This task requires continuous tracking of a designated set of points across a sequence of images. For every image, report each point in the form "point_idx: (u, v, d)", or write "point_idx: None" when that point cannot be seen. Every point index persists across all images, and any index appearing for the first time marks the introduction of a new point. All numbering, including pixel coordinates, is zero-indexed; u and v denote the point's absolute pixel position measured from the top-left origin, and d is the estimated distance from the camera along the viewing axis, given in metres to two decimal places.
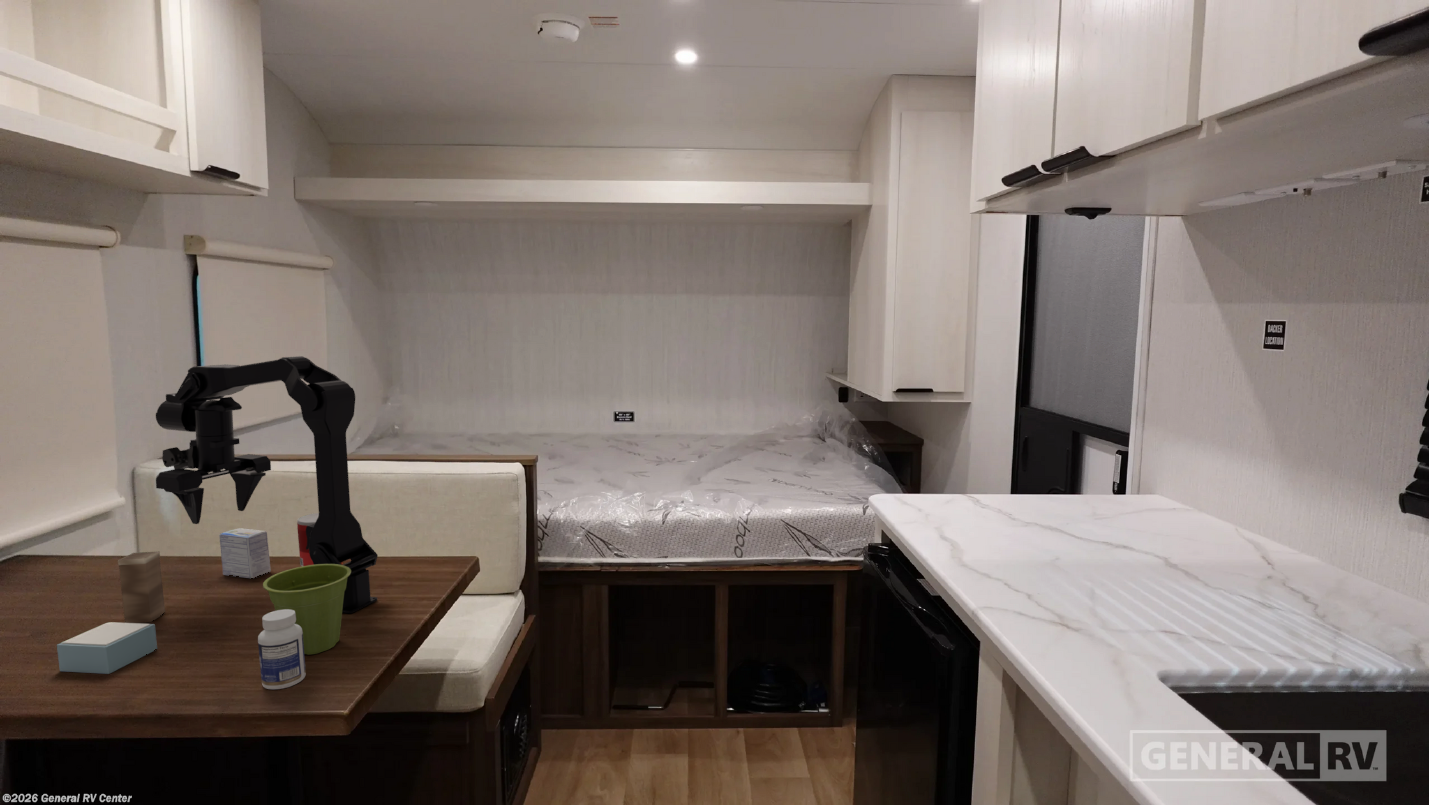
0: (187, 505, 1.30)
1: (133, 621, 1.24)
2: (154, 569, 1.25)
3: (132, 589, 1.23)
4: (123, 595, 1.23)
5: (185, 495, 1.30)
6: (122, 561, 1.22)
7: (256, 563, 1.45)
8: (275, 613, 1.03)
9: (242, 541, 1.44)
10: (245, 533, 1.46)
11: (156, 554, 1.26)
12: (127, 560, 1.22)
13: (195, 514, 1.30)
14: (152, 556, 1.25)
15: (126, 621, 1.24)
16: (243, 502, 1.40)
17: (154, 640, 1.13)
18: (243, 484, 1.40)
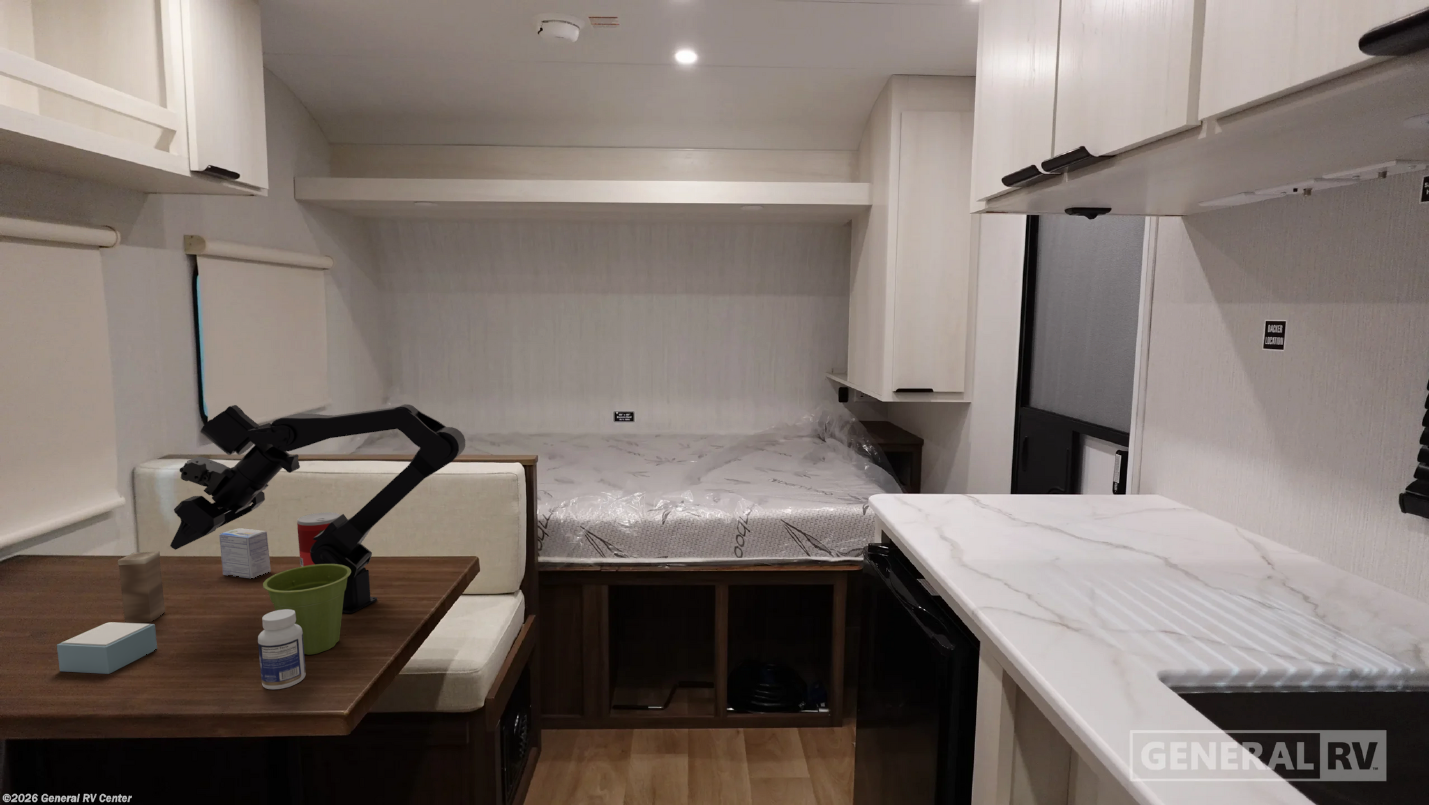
0: (183, 532, 1.20)
1: (133, 621, 1.24)
2: (154, 569, 1.25)
3: (132, 589, 1.23)
4: (123, 595, 1.23)
5: None
6: (122, 561, 1.22)
7: (256, 563, 1.45)
8: (275, 613, 1.03)
9: (242, 541, 1.44)
10: (245, 533, 1.46)
11: (156, 554, 1.26)
12: (127, 560, 1.22)
13: (184, 544, 1.20)
14: (152, 556, 1.25)
15: (126, 621, 1.24)
16: None
17: (154, 640, 1.13)
18: (227, 512, 1.30)
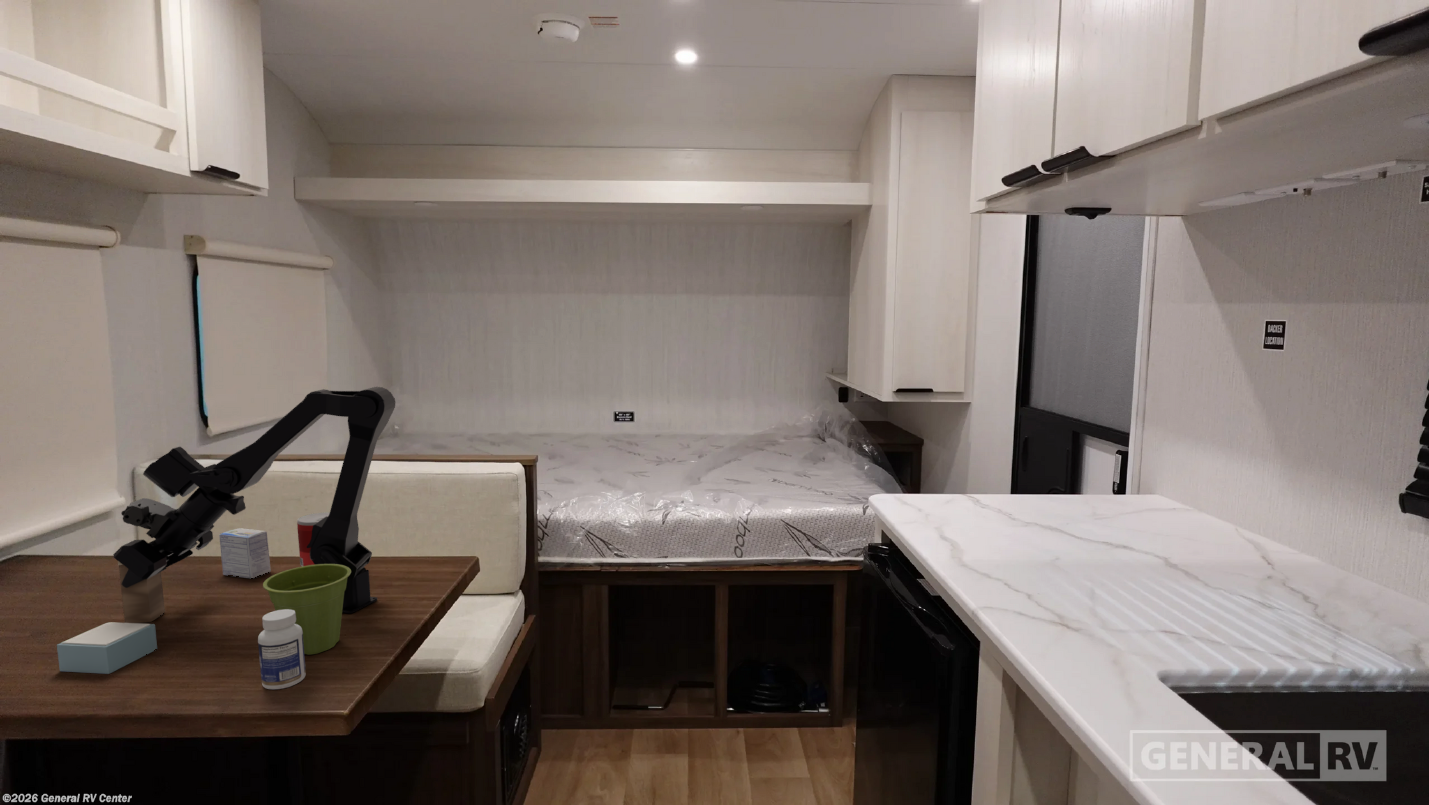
0: None
1: (133, 621, 1.24)
2: None
3: (132, 589, 1.23)
4: (123, 595, 1.23)
5: None
6: None
7: (256, 564, 1.45)
8: (275, 613, 1.03)
9: (242, 541, 1.44)
10: (245, 533, 1.46)
11: None
12: None
13: (134, 582, 1.22)
14: None
15: (126, 621, 1.24)
16: None
17: (154, 640, 1.13)
18: None
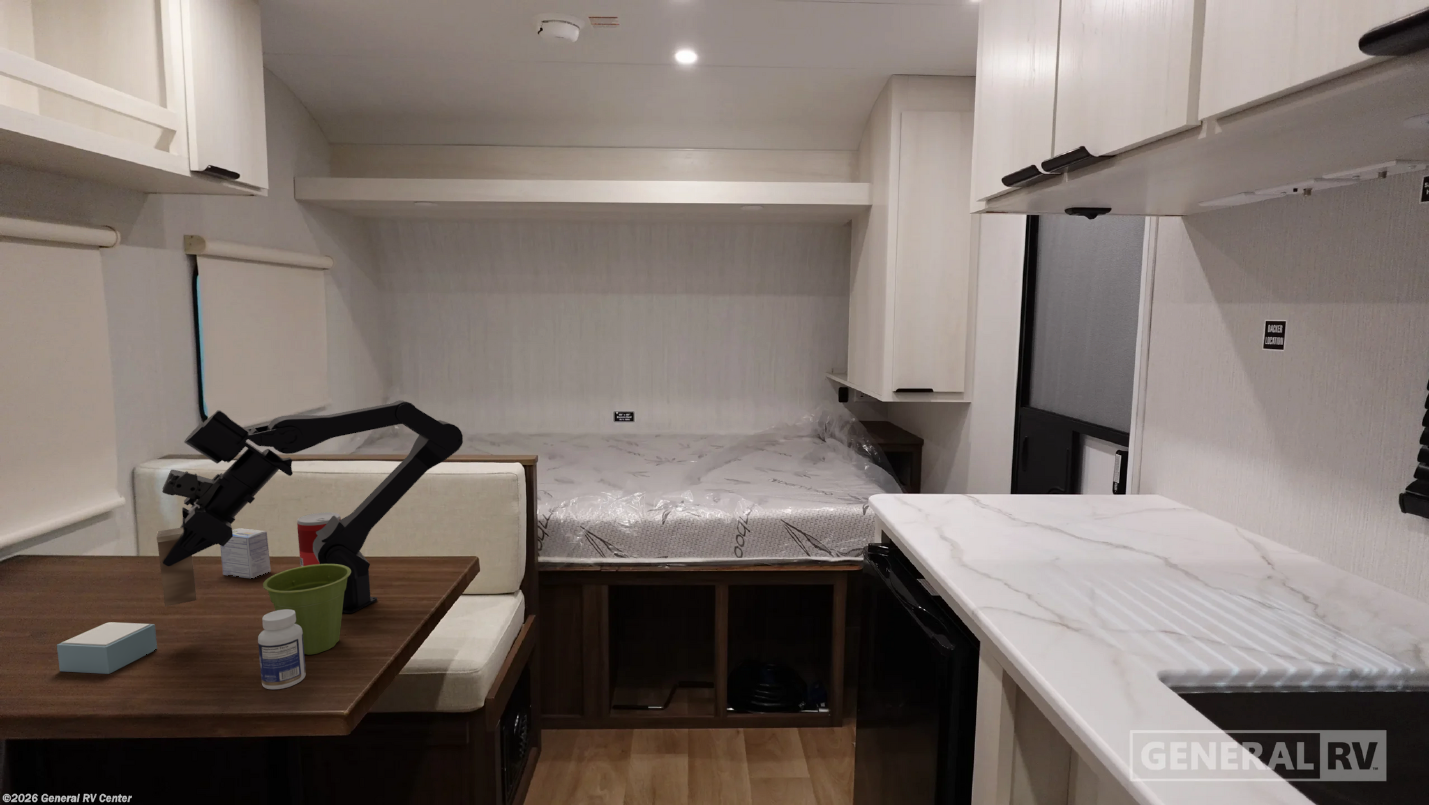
0: (183, 546, 1.12)
1: (175, 602, 1.14)
2: None
3: (174, 567, 1.13)
4: (162, 575, 1.12)
5: (190, 535, 1.13)
6: (162, 537, 1.12)
7: (256, 564, 1.45)
8: (275, 613, 1.03)
9: (242, 541, 1.44)
10: (245, 533, 1.46)
11: None
12: (168, 536, 1.12)
13: (182, 558, 1.13)
14: None
15: (166, 603, 1.13)
16: None
17: (154, 640, 1.13)
18: None
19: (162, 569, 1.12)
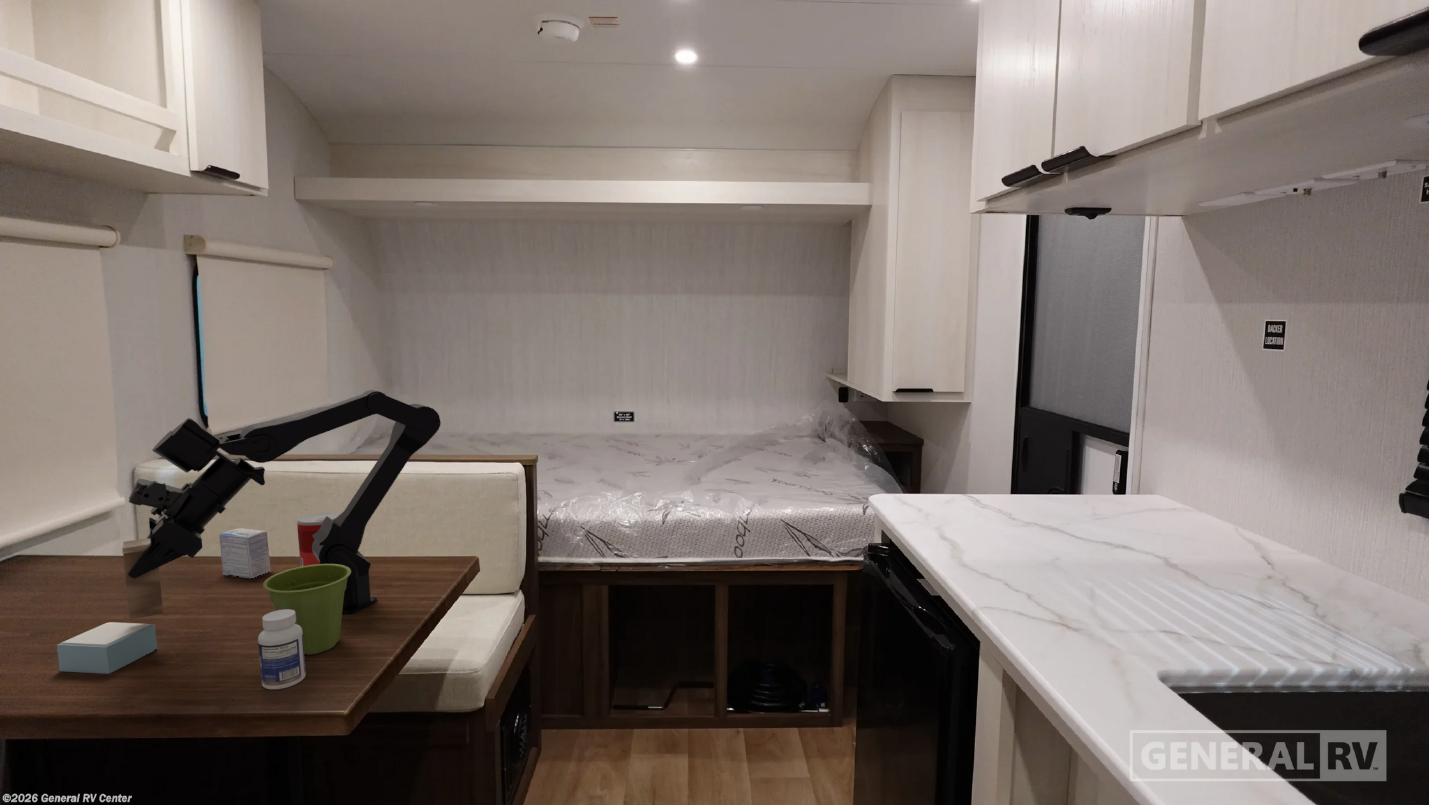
0: (149, 557, 1.09)
1: (140, 615, 1.10)
2: None
3: (140, 579, 1.10)
4: (128, 587, 1.09)
5: (158, 546, 1.10)
6: (128, 549, 1.09)
7: (256, 564, 1.45)
8: (275, 613, 1.03)
9: (242, 541, 1.44)
10: (245, 533, 1.46)
11: None
12: (134, 547, 1.09)
13: (148, 570, 1.10)
14: None
15: (131, 617, 1.10)
16: None
17: (154, 640, 1.13)
18: None
19: (127, 581, 1.09)
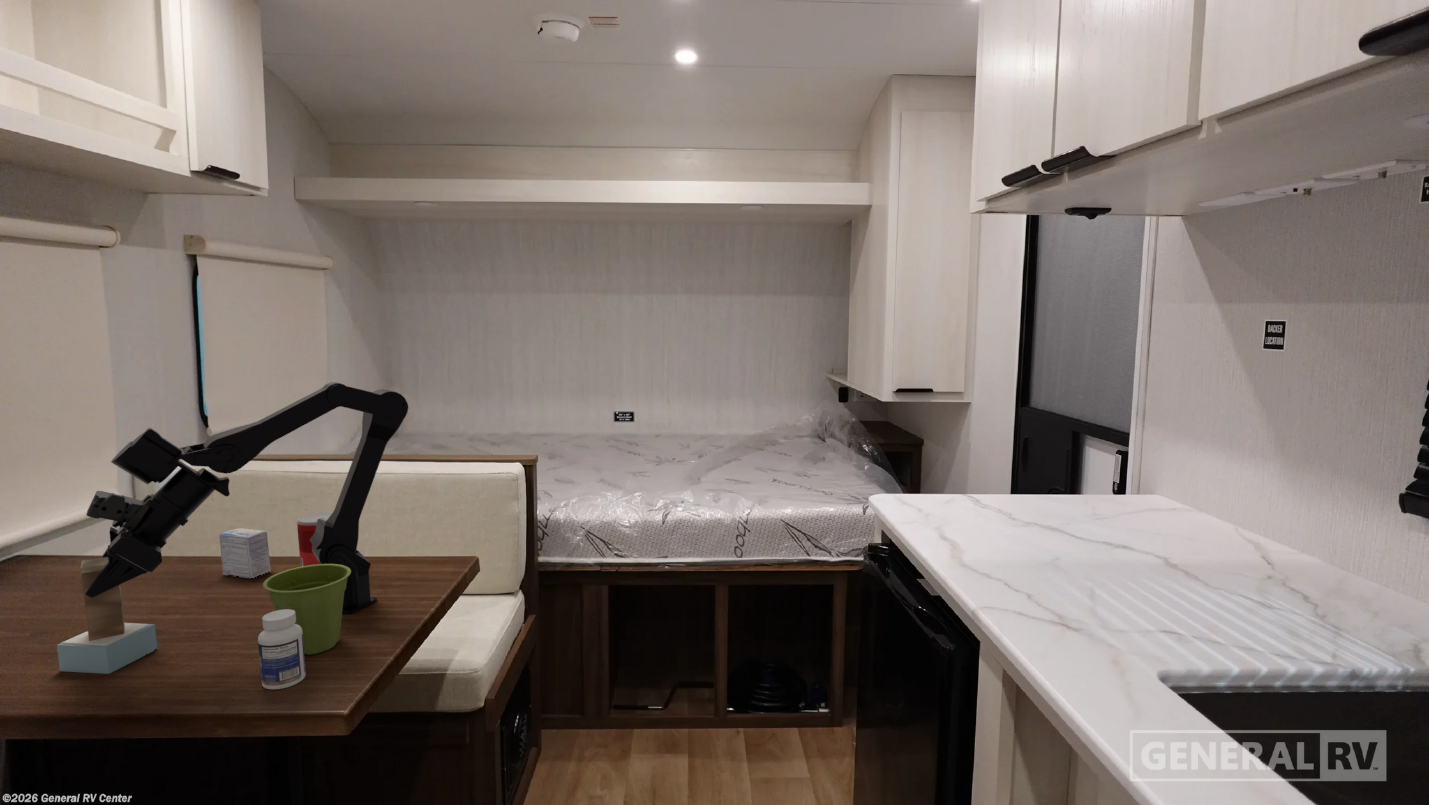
0: (108, 575, 1.05)
1: (100, 636, 1.08)
2: None
3: (100, 599, 1.07)
4: (87, 608, 1.06)
5: (116, 564, 1.05)
6: (86, 568, 1.06)
7: (256, 564, 1.45)
8: (275, 613, 1.03)
9: (242, 541, 1.44)
10: (245, 533, 1.46)
11: None
12: (93, 566, 1.07)
13: (107, 589, 1.05)
14: None
15: (91, 638, 1.07)
16: None
17: (154, 640, 1.13)
18: None
19: (86, 601, 1.06)
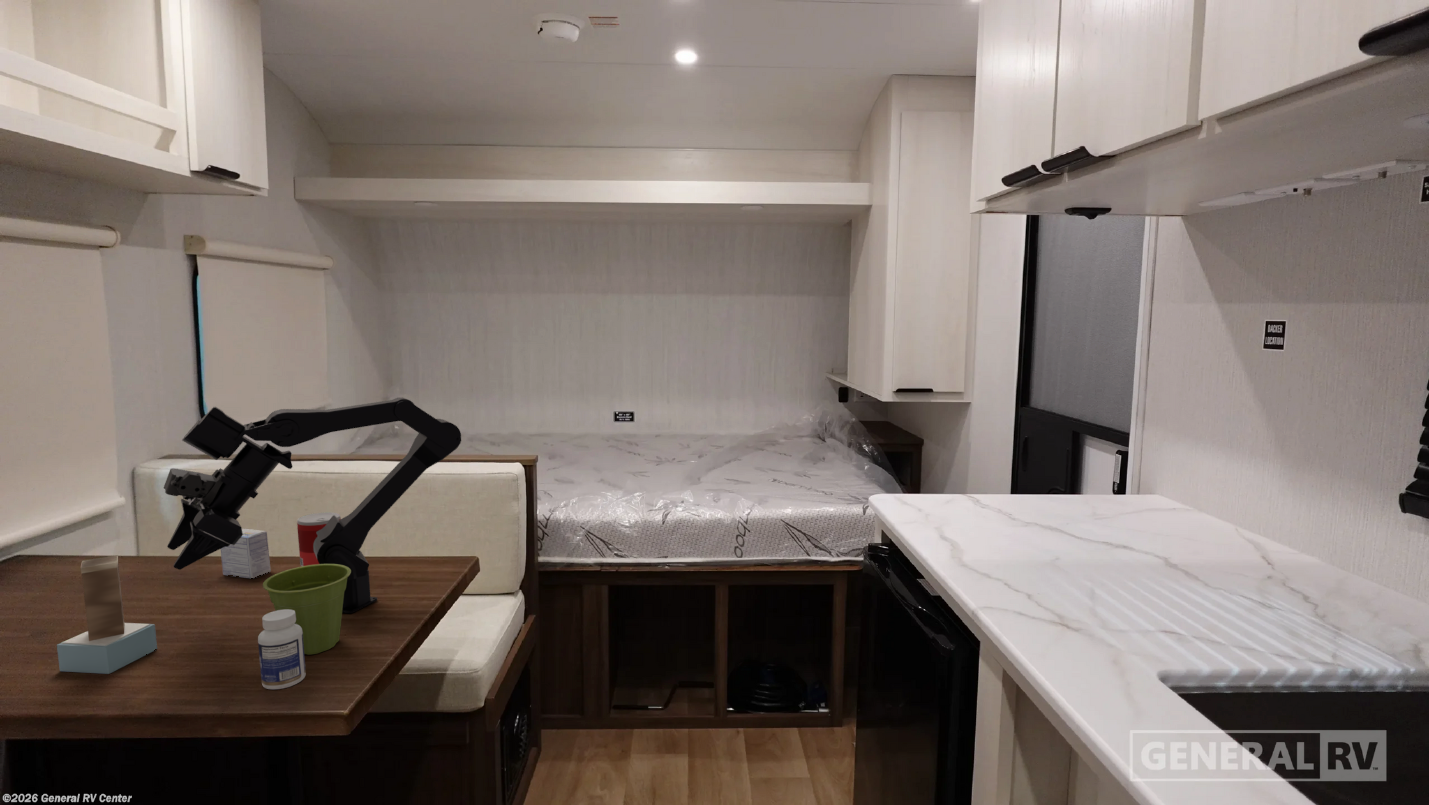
0: (193, 549, 1.12)
1: (100, 636, 1.08)
2: (118, 575, 1.10)
3: (100, 599, 1.07)
4: (87, 608, 1.06)
5: (200, 538, 1.12)
6: (86, 568, 1.06)
7: (256, 564, 1.45)
8: (275, 613, 1.03)
9: (242, 541, 1.44)
10: (245, 533, 1.46)
11: (117, 558, 1.11)
12: (93, 566, 1.07)
13: (193, 561, 1.13)
14: (117, 560, 1.10)
15: (91, 638, 1.07)
16: (183, 541, 1.20)
17: (154, 640, 1.13)
18: None
19: (86, 601, 1.06)
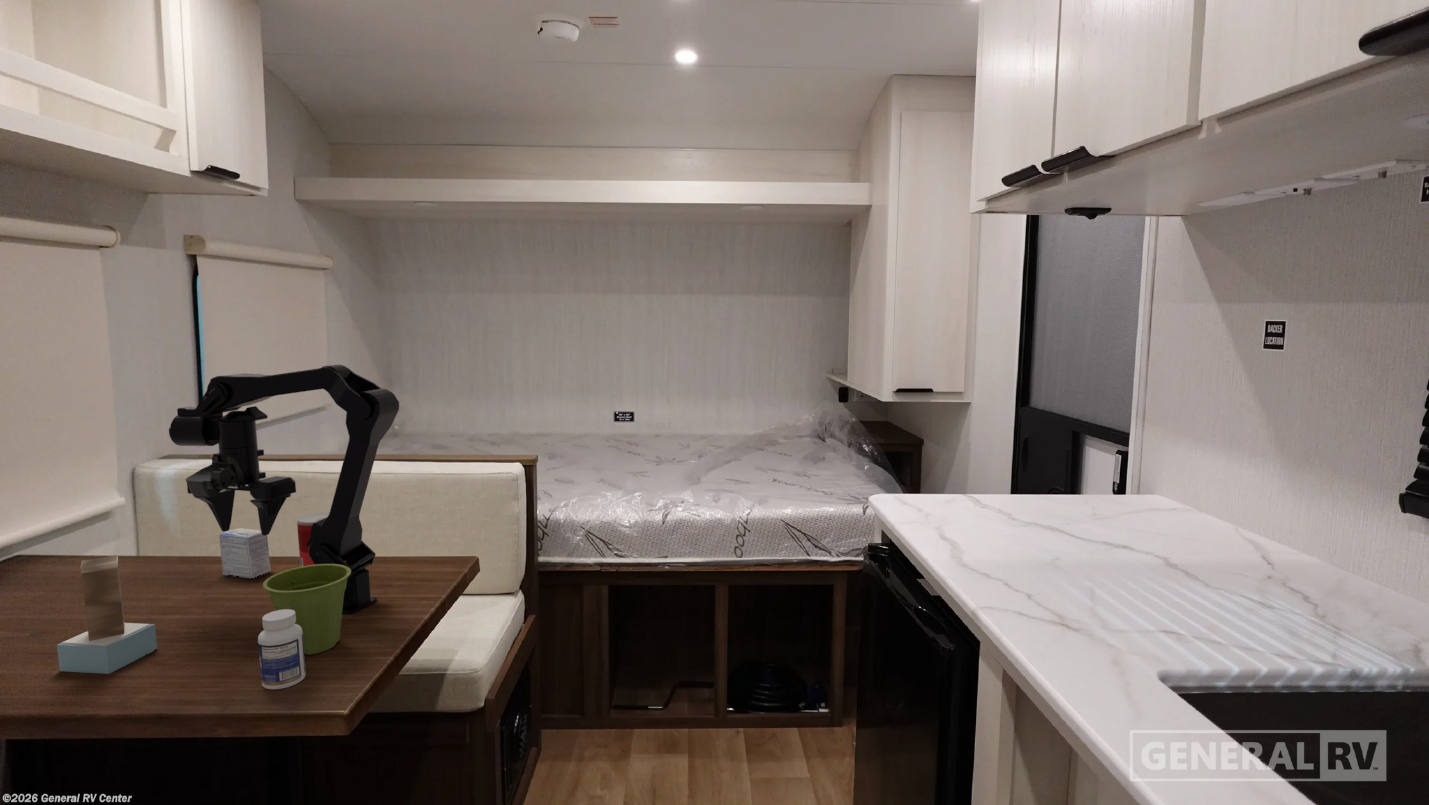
0: (268, 515, 1.28)
1: (100, 636, 1.08)
2: (118, 575, 1.10)
3: (100, 599, 1.07)
4: (87, 608, 1.06)
5: None
6: (86, 568, 1.06)
7: (256, 564, 1.45)
8: (275, 613, 1.03)
9: (242, 541, 1.44)
10: (245, 533, 1.46)
11: (117, 558, 1.11)
12: (93, 566, 1.07)
13: (273, 522, 1.29)
14: (117, 560, 1.10)
15: (91, 638, 1.07)
16: (229, 519, 1.32)
17: (154, 640, 1.13)
18: (224, 502, 1.32)
19: (86, 601, 1.06)
